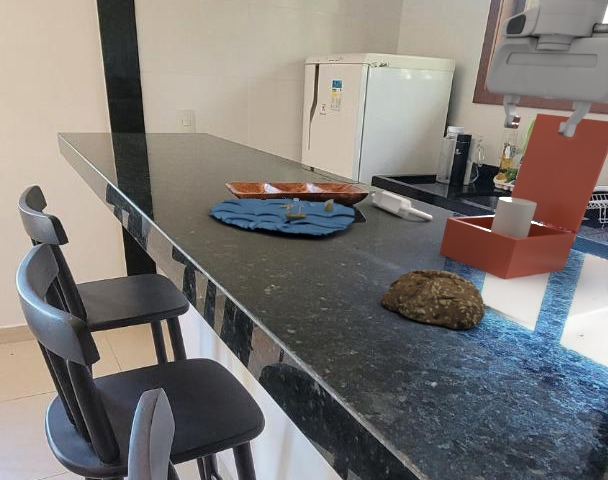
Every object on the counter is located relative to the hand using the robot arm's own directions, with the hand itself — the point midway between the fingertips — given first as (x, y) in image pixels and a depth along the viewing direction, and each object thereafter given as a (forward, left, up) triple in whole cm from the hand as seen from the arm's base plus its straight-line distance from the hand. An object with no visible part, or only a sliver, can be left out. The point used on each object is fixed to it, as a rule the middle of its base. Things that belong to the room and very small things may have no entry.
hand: (536, 132), depth 80 cm
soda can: (-23, -5, -21) cm, 32 cm away
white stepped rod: (-12, -38, -21) cm, 45 cm away
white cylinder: (0, 0, -20) cm, 20 cm away
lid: (-8, 0, -6) cm, 10 cm away
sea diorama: (+20, -36, -21) cm, 46 cm away
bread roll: (+27, +10, -21) cm, 36 cm away
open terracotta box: (0, 0, -21) cm, 21 cm away
